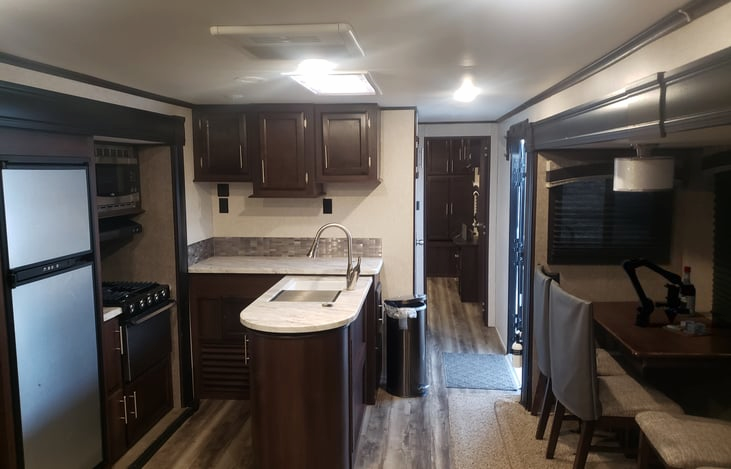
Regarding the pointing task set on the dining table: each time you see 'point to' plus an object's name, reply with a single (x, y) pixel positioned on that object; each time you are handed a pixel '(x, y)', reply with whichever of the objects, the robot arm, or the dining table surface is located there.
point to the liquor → (688, 299)
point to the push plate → (685, 324)
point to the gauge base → (688, 329)
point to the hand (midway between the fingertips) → (671, 322)
